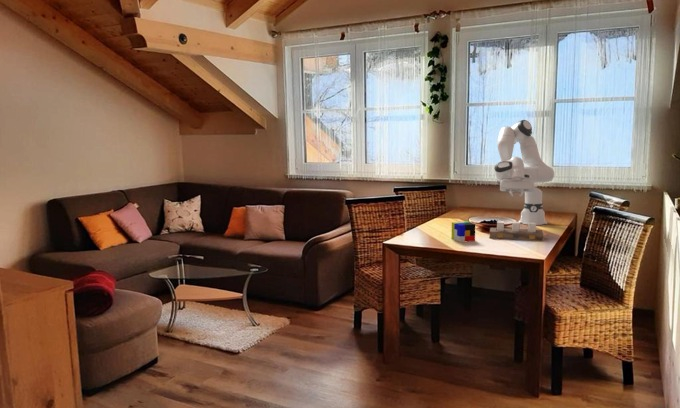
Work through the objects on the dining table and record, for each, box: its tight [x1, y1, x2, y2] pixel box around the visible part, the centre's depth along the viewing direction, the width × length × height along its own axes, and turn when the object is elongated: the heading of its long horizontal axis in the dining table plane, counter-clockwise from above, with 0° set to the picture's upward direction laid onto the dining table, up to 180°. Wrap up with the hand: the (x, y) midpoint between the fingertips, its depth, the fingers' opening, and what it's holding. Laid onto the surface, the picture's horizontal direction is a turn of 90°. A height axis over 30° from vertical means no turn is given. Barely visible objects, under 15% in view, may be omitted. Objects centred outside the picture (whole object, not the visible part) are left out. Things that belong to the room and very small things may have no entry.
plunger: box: [527, 222, 537, 232], centre depth 307 cm, size 4×4×6 cm
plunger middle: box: [511, 221, 521, 232], centre depth 309 cm, size 4×4×6 cm
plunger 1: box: [496, 220, 505, 231], centre depth 312 cm, size 4×4×6 cm
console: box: [489, 227, 544, 242], centre depth 310 cm, size 12×30×4 cm, turn 73°
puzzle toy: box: [451, 220, 476, 243], centre depth 305 cm, size 10×10×10 cm
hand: (516, 195), depth 319 cm, fingers open, 3 cm apart
